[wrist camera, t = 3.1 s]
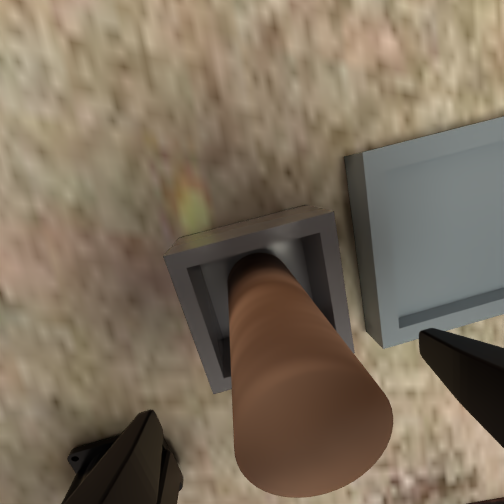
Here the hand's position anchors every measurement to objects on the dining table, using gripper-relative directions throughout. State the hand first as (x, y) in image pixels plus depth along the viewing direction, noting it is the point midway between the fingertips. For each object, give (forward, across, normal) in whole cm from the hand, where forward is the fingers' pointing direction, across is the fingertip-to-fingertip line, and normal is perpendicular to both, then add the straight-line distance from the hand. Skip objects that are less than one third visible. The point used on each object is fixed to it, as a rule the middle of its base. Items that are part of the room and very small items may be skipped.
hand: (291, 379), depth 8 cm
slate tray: (+8, -13, 0) cm, 16 cm away
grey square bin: (+8, 0, 0) cm, 8 cm away
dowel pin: (+8, 0, 0) cm, 8 cm away
